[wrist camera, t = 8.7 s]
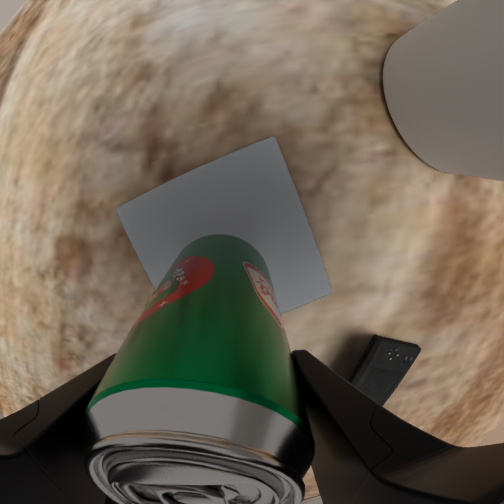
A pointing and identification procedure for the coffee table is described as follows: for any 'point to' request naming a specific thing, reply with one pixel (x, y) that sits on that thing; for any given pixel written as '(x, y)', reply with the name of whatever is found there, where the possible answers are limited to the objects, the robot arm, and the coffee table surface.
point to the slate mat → (232, 220)
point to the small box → (313, 500)
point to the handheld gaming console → (383, 367)
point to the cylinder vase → (452, 88)
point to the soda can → (203, 391)
